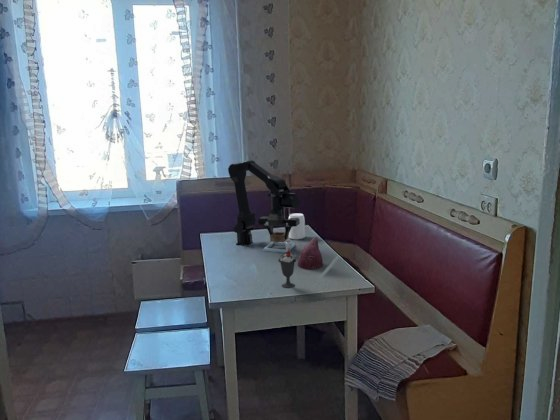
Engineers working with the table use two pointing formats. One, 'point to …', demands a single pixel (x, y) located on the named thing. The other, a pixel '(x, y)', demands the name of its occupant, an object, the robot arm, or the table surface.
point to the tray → (278, 249)
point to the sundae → (287, 268)
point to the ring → (277, 237)
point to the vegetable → (310, 256)
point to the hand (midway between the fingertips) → (279, 239)
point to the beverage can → (297, 227)
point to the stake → (288, 248)
